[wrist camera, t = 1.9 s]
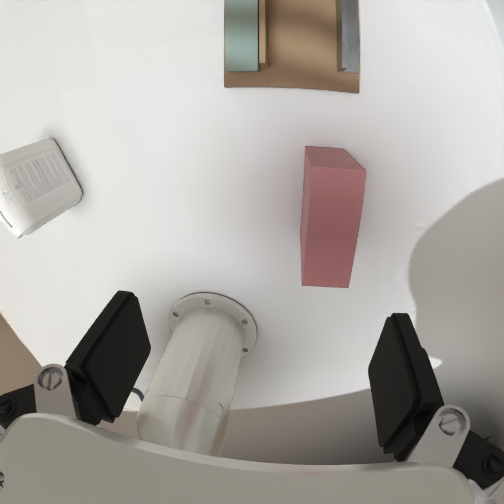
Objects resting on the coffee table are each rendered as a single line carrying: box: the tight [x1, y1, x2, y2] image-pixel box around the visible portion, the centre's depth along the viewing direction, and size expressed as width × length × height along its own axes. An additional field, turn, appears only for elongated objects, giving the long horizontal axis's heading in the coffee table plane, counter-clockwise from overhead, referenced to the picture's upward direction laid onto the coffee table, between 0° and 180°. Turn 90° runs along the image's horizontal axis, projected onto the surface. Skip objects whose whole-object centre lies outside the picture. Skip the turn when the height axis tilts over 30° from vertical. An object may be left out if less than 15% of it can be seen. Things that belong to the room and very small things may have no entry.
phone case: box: [124, 388, 144, 412], centre depth 57 cm, size 9×2×16 cm
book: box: [300, 146, 366, 288], centre depth 27 cm, size 10×4×10 cm, turn 0°
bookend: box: [336, 0, 359, 74], centre depth 20 cm, size 10×2×4 cm, turn 0°
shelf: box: [224, 0, 360, 93], centre depth 18 cm, size 14×13×12 cm
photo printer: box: [0, 138, 82, 238], centre depth 28 cm, size 10×4×12 cm, turn 28°
